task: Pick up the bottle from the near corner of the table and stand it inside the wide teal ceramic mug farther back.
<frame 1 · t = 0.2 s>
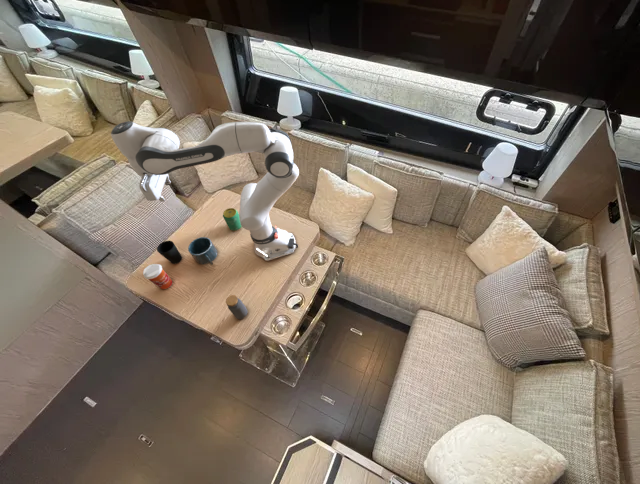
hand: (166, 191, 112), 48 cm above the table, tool pointing down, fingers open, 8 cm apart
beverage can: (236, 226, 162), on the table
cup: (176, 259, 146), on the table
teal ceramic mug: (206, 255, 148), on the table
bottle: (241, 313, 129), on the table
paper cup: (166, 284, 137), on the table
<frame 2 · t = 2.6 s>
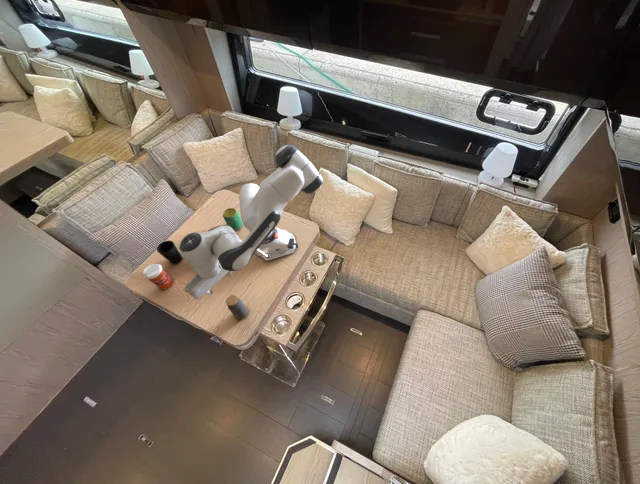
hand: (220, 283, 111), 25 cm above the table, tool pointing down, fingers open, 8 cm apart
nothing on the table moved.
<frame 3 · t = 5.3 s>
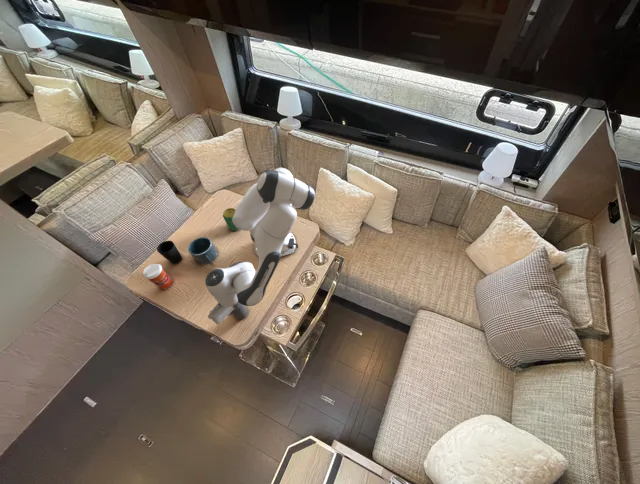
hand: (237, 308, 124), 6 cm above the table, tool pointing down, fingers closed on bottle, 6 cm apart
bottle: (241, 313, 129), on the table, touching gripper
everything else where it was.
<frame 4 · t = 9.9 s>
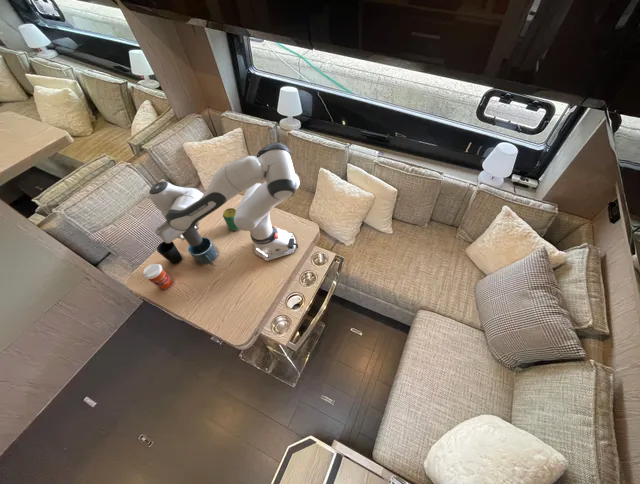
hand: (190, 233, 126), 25 cm above the table, tool pointing down, fingers closed on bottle, 6 cm apart
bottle: (196, 241, 131), point 19 cm above the table, touching gripper
everything else where it was.
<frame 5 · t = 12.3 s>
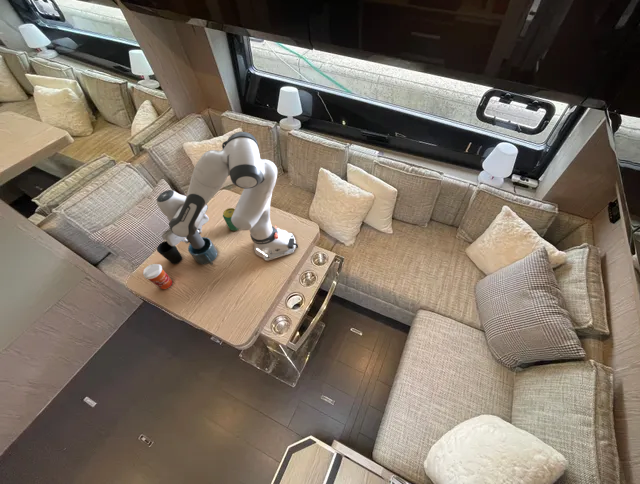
hand: (194, 237, 136), 16 cm above the table, tool pointing down, fingers closed on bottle, 6 cm apart
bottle: (198, 244, 141), point 10 cm above the table, touching gripper
everything else where it was.
when the fingers open (7 cm above the table, at t = 15.1 s): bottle stays where it is, resting on teal ceramic mug.
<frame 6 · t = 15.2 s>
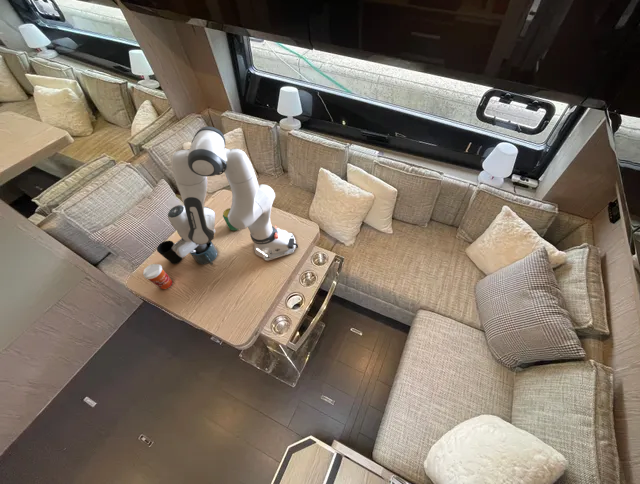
hand: (201, 248, 143), 7 cm above the table, tool pointing down, fingers open, 6 cm apart
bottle: (206, 254, 148), point 1 cm above the table, touching gripper, teal ceramic mug
everything else where it was.
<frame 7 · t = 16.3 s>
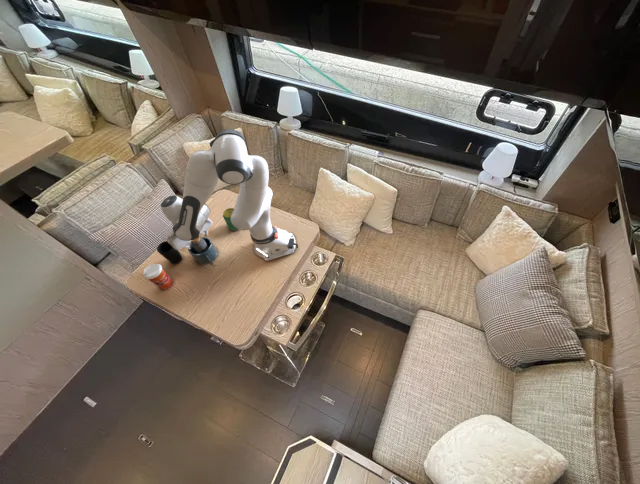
hand: (198, 241, 139), 13 cm above the table, tool pointing down, fingers open, 8 cm apart
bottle: (206, 254, 148), point 1 cm above the table, touching teal ceramic mug
everything else where it was.
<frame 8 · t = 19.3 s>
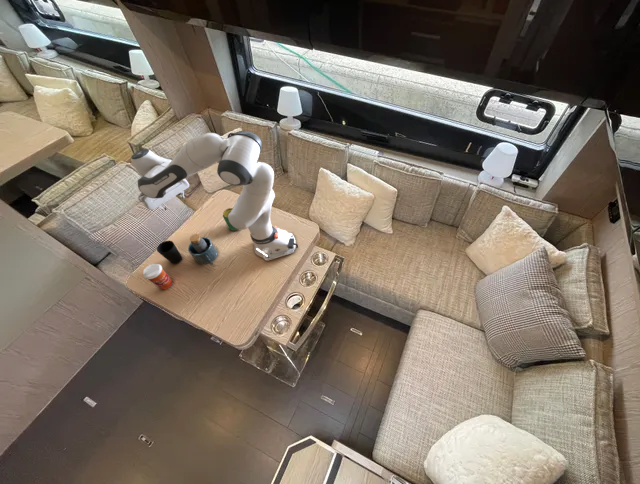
hand: (174, 203, 132), 29 cm above the table, tool pointing down, fingers open, 8 cm apart
nothing on the table moved.
at the end: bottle 0.3 cm off-centre in the teal ceramic mug, point 0.6 cm above the teal ceramic mug's base; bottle tilted 0°; the gripper is holding nothing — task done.
